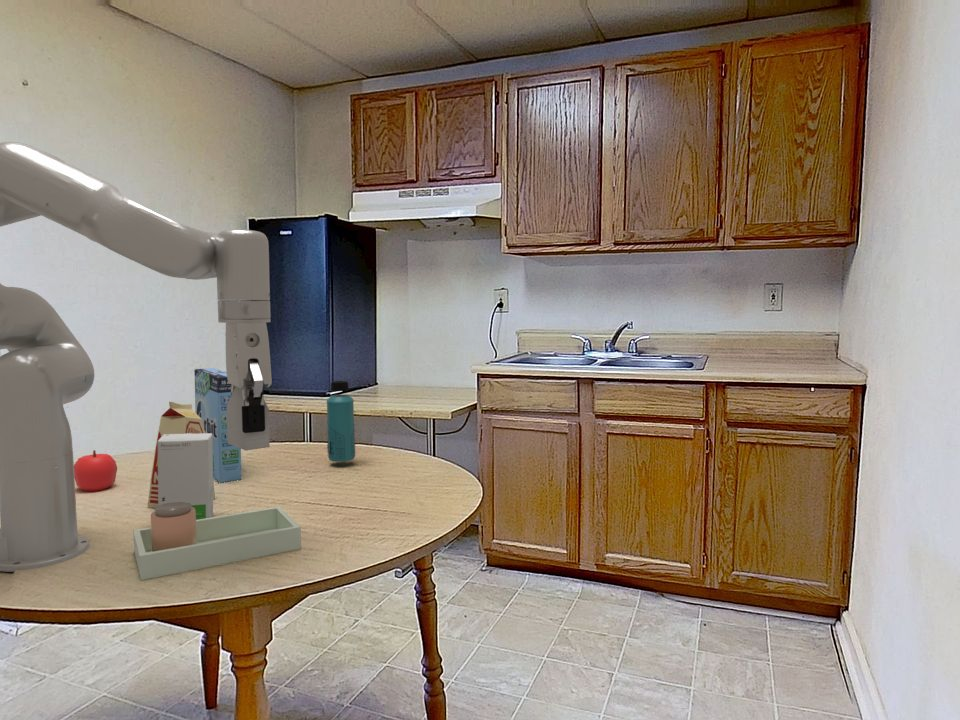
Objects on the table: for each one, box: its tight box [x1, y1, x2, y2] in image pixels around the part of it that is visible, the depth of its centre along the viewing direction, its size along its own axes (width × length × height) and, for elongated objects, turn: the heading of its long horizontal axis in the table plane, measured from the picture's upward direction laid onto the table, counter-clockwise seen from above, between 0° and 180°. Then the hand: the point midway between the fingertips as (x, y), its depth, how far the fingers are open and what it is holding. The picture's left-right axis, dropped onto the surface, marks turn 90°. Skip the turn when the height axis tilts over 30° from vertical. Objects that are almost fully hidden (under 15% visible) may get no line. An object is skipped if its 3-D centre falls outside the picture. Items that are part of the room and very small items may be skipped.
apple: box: [74, 449, 118, 492], centre depth 136 cm, size 8×8×8 cm
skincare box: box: [158, 433, 214, 520], centre depth 113 cm, size 8×7×16 cm
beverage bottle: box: [326, 380, 356, 463], centre depth 154 cm, size 6×7×20 cm
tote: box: [132, 505, 302, 582], centre depth 100 cm, size 22×12×4 cm, turn 122°
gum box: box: [193, 367, 243, 484], centre depth 147 cm, size 19×5×23 cm, turn 37°
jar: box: [150, 502, 197, 552], centre depth 97 cm, size 6×6×8 cm
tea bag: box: [227, 383, 271, 452], centre depth 101 cm, size 4×7×10 cm, turn 43°
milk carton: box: [147, 401, 216, 509], centre depth 125 cm, size 9×9×20 cm
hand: (247, 426), depth 101 cm, fingers closed on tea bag, 7 cm apart
